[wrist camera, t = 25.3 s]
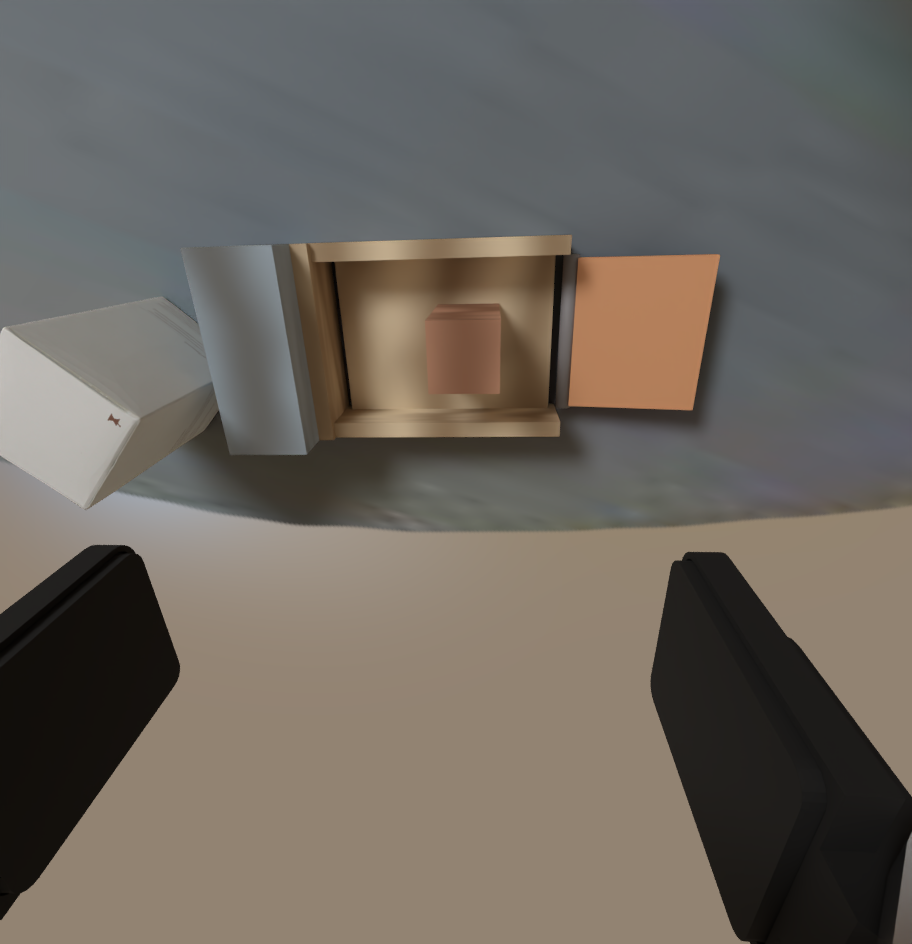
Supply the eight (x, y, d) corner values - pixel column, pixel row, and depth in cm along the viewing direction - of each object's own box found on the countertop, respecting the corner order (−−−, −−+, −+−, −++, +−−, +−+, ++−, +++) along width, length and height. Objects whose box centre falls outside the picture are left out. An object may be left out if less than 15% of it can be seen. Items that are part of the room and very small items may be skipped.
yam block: (499, 303, 33) (500, 319, 26) (498, 364, 34) (499, 393, 28) (437, 304, 33) (424, 320, 27) (440, 365, 35) (428, 394, 28)
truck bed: (562, 234, 32) (580, 234, 25) (552, 416, 37) (565, 454, 30) (239, 245, 33) (180, 248, 27) (273, 418, 38) (230, 455, 32)
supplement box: (162, 292, 35) (0, 319, 23) (252, 364, 36) (143, 422, 25) (117, 370, 37) (-48, 429, 26) (203, 434, 39) (85, 515, 28)
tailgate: (563, 254, 32) (716, 250, 30) (555, 404, 36) (688, 408, 34) (563, 255, 31) (720, 251, 29) (554, 408, 35) (691, 413, 33)
